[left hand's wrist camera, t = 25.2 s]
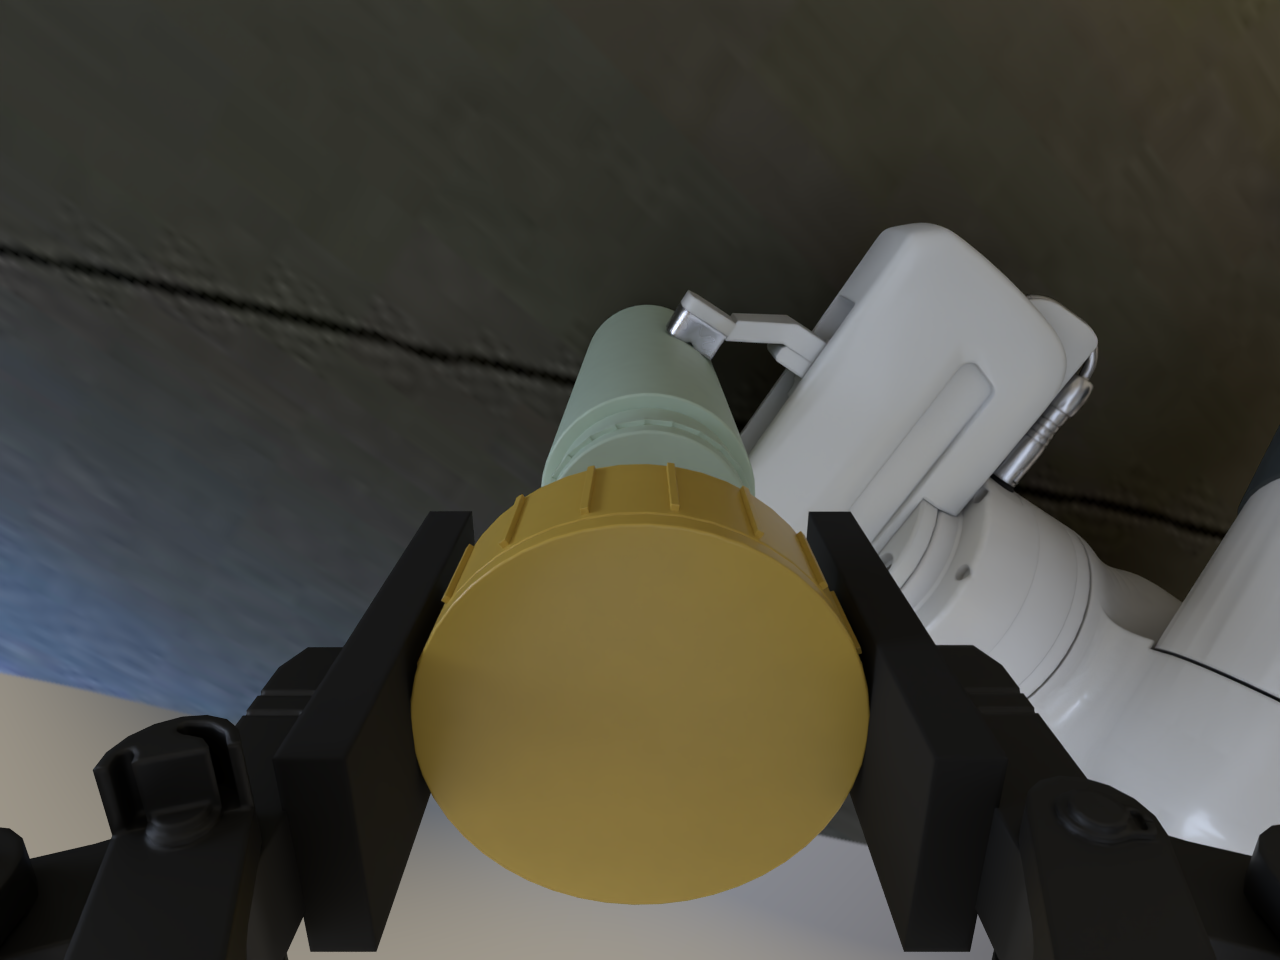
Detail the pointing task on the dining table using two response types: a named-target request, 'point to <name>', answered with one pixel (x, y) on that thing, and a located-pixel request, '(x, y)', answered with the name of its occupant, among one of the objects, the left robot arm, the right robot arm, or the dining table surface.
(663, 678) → the lid
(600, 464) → the jar
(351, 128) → the dining table surface
